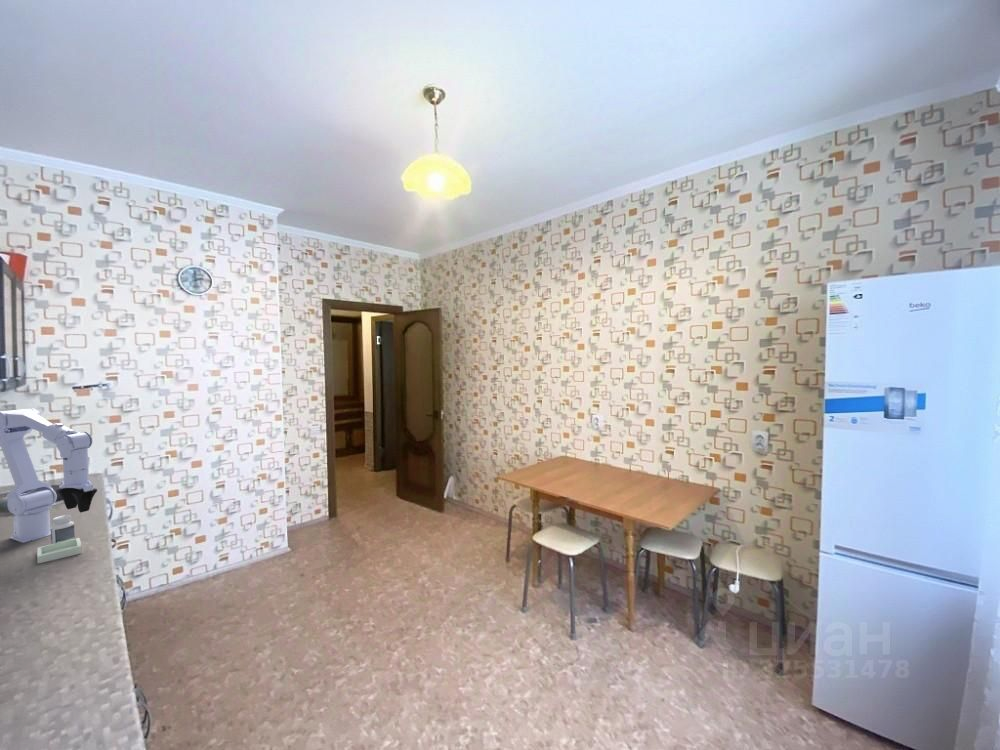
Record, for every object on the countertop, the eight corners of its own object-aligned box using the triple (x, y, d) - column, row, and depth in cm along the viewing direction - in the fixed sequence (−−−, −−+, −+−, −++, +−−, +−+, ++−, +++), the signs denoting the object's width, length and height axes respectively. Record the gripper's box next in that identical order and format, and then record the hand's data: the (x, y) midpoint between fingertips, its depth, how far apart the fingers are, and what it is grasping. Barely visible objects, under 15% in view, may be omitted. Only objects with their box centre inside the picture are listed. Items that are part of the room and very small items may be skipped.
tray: (37, 554, 124) (37, 547, 124) (80, 544, 131) (79, 537, 131) (37, 564, 118) (37, 556, 118) (81, 553, 125) (81, 545, 125)
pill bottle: (79, 540, 134) (78, 514, 134) (61, 547, 129) (59, 520, 129) (65, 539, 135) (64, 513, 134) (46, 547, 129) (45, 520, 129)
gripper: (47, 470, 132) (49, 511, 132) (71, 475, 127) (73, 517, 127) (76, 465, 138) (78, 503, 139) (100, 469, 133) (102, 509, 134)
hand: (77, 509), depth 133 cm, fingers open, 7 cm apart
